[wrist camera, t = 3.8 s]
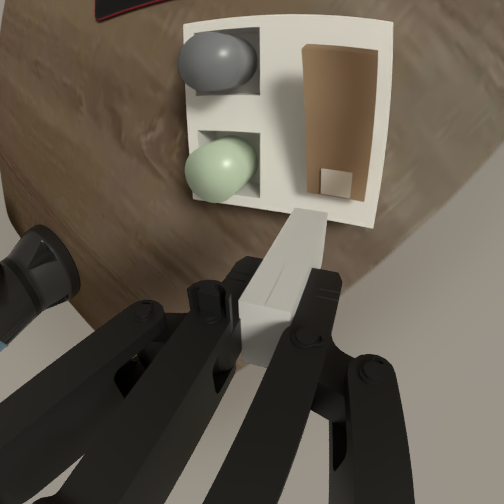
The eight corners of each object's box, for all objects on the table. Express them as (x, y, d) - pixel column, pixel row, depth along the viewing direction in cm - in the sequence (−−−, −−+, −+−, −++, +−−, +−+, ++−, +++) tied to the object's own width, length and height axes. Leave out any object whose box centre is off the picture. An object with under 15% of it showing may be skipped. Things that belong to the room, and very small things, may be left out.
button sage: (211, 182, 26) (187, 199, 23) (208, 134, 24) (182, 145, 21) (258, 187, 25) (238, 206, 22) (257, 136, 23) (237, 148, 20)
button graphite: (206, 88, 22) (179, 93, 19) (205, 38, 20) (176, 35, 17) (257, 88, 21) (236, 91, 18) (257, 34, 19) (235, 28, 16)
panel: (214, 183, 30) (185, 205, 26) (208, 28, 22) (173, 23, 18) (374, 207, 25) (372, 236, 21) (390, 31, 17) (394, 18, 13)
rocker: (310, 180, 22) (306, 193, 21) (306, 43, 15) (300, 49, 14) (365, 189, 21) (363, 203, 20) (377, 50, 13) (378, 56, 13)
